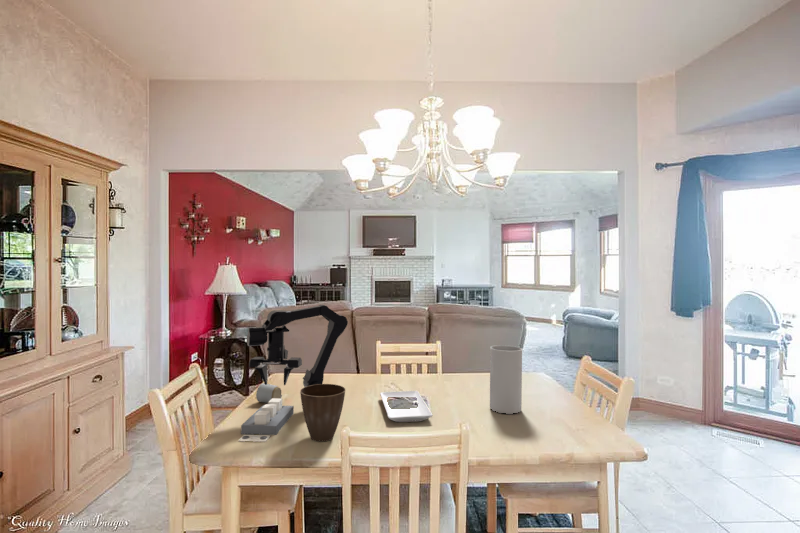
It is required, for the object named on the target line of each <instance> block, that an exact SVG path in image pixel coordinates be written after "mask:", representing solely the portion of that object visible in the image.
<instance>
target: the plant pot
mask: <svg viewBox="0 0 800 533" xmlns="http://www.w3.org/2000/svg"><path fill="white" fill-rule="evenodd" d="M299 394H300V402H301V408H302V412H303V413H302V414H303V417H304V421H305V424H306V428H307V431H308V434H309V437H310V439H311V440H312V441H313V442H318V443H319V442H320V443H322V442H328V441H331V440H333V438H334V436H335V434H336V431H337V428H338V425H339V423H340V422H339V421H340V419H341V415H342V412H343V411H342V410H343V406H344V401H345V396H346V388H345V386H342V385H339V384H333V383H322V384H316V385H310V386H306V387H304V386H303V387H301V389H300V390H299Z"/></svg>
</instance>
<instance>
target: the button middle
mask: <svg viewBox="0 0 800 533" xmlns="http://www.w3.org/2000/svg"><path fill="white" fill-rule="evenodd" d="M263 405H264V406H263ZM263 405H262V406H263V407H262V406H261V407H262V411H270V417H272V418H274V417H275V416H276V405H277V404H269V403H264V404H263Z"/></svg>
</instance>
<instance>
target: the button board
mask: <svg viewBox="0 0 800 533" xmlns="http://www.w3.org/2000/svg"><path fill="white" fill-rule="evenodd" d="M264 405H265V404H263V405H262V406H260V407H259V408H258V409H257V410H256V411H255V412H254V413H253V414H252V415H250V416H249V418H247V419H246V420H245V421H244V422H243V423H242V424H241V425H240V435H254V434H259V435H271V436H277V434H278V433H279V432H280V431H281V430H282V428H283V427H284V426H285V425H286V424H287V422H288V421H289V420H290V419H291V417H292V416H293V415H294V413H295V412H294V409H295V407H294V405H282V409H281V410H280V411H276V416H275V417H274V418H272V417H270V422H269V423H268V424H267V425H254V422H255V414H256V413H257V412H258V411H262V407H263V406H264Z"/></svg>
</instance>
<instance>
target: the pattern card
mask: <svg viewBox="0 0 800 533" xmlns="http://www.w3.org/2000/svg"><path fill="white" fill-rule="evenodd" d="M271 436H272V435H254V434H242V436H241V437H240V438H239V439H238V440H237V441H238V442H245V441H253V443H258V442H259V443H267V441H268V440H269V439H270V437H271Z"/></svg>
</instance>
